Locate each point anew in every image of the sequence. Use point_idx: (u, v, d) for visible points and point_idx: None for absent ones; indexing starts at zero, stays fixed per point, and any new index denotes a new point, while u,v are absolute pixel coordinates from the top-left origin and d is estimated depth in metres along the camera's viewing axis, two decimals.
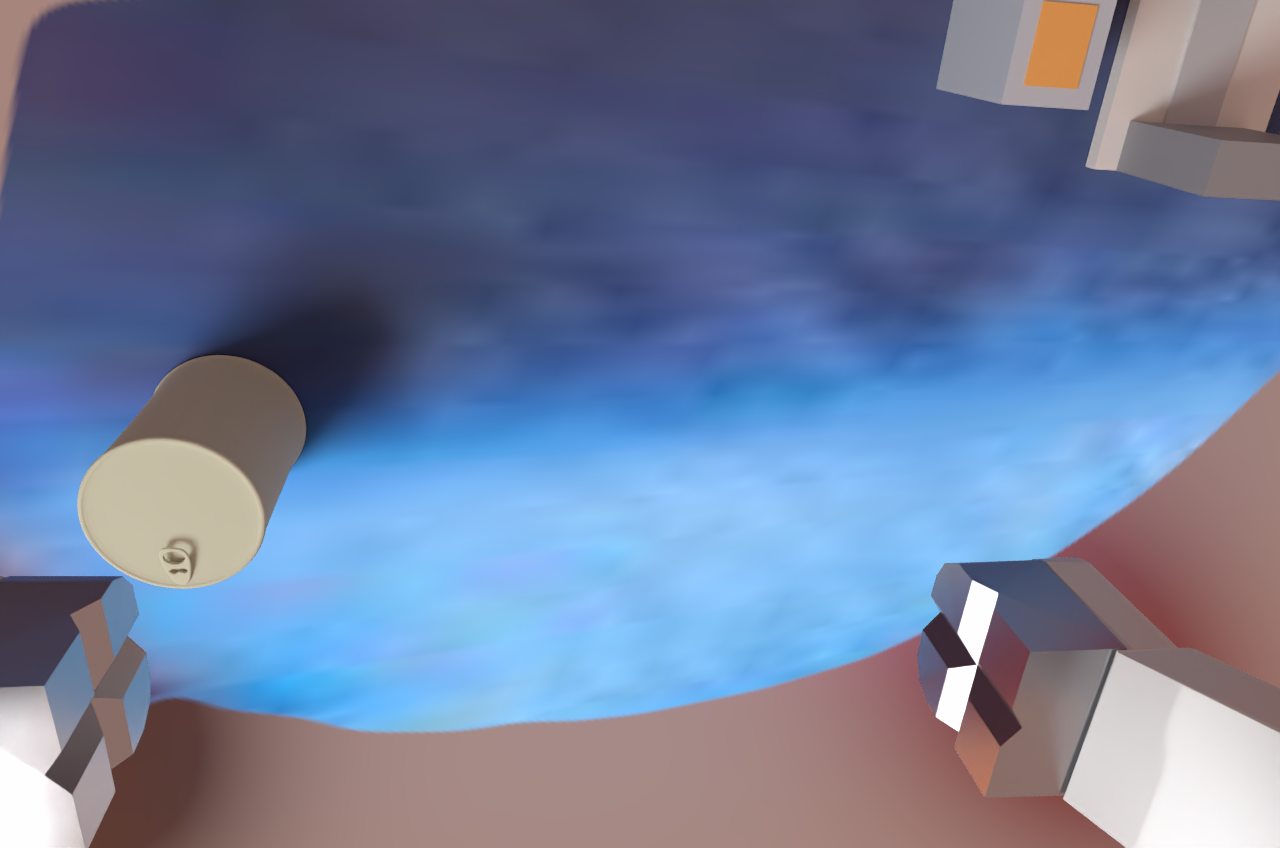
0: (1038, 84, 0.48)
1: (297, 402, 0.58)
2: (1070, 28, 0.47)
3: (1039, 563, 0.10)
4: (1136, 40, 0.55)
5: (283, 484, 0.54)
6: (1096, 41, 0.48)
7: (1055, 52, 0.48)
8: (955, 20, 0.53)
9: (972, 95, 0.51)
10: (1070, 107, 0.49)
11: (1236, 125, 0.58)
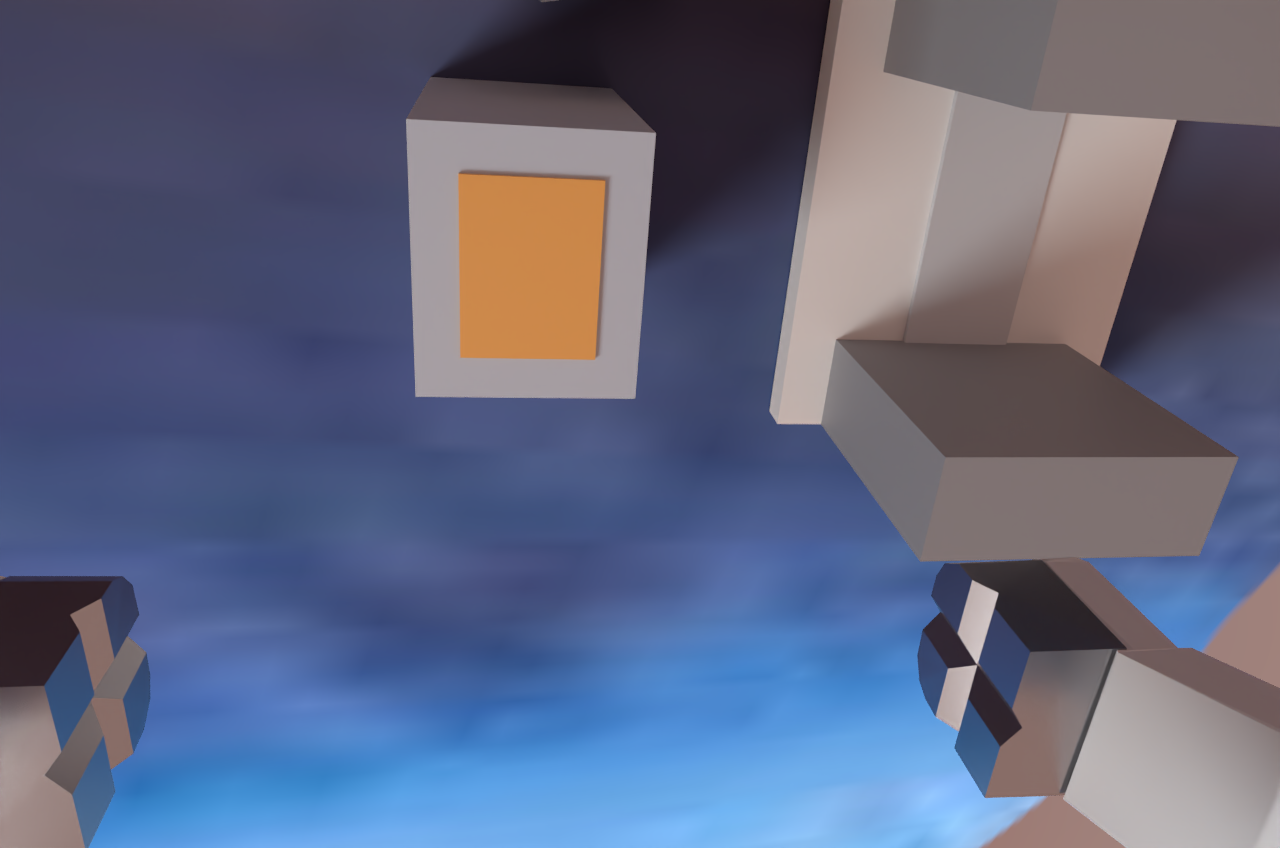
0: (497, 352, 0.21)
1: None
2: (547, 232, 0.20)
3: (1039, 563, 0.10)
4: (827, 196, 0.27)
5: None
6: (620, 257, 0.20)
7: (521, 286, 0.20)
8: None
9: None
10: (590, 395, 0.21)
11: (1048, 340, 0.30)
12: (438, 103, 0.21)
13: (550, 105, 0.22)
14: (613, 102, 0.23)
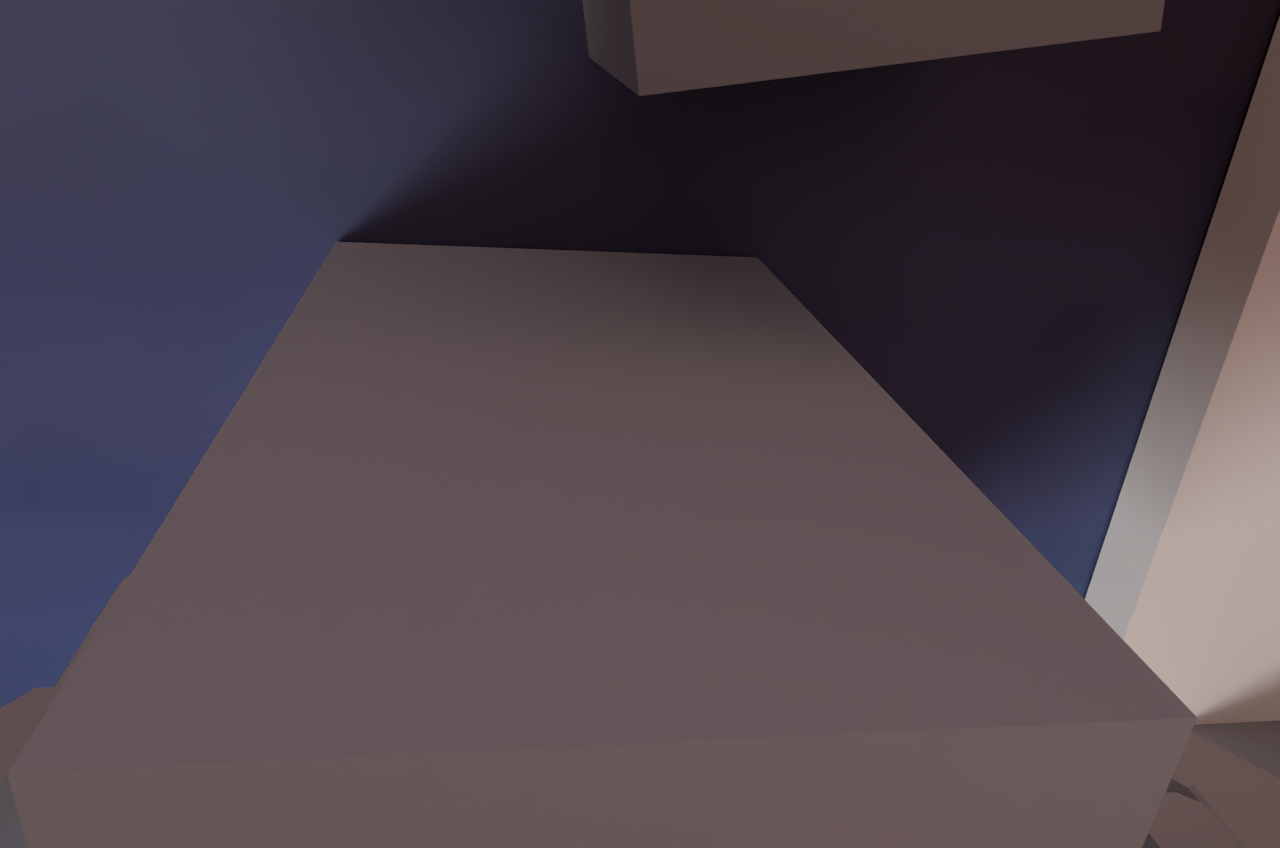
0: None
1: None
2: None
3: None
4: (1214, 476, 0.13)
5: None
6: None
7: None
8: None
9: None
10: None
11: None
12: (286, 455, 0.06)
13: (658, 408, 0.07)
14: (814, 352, 0.08)
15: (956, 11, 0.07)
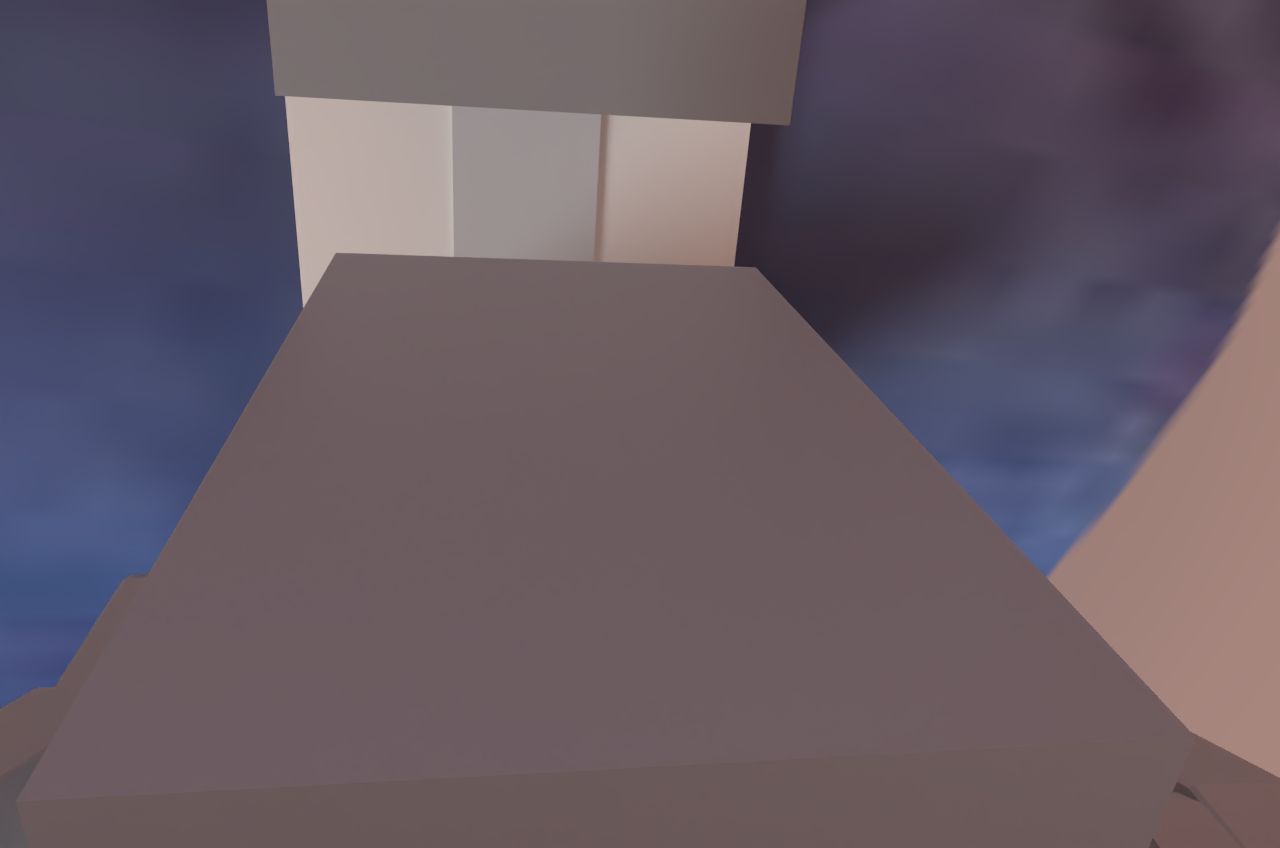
0: None
1: None
2: None
3: None
4: (314, 209, 0.22)
5: None
6: None
7: None
8: None
9: None
10: None
11: None
12: (288, 473, 0.06)
13: (658, 423, 0.07)
14: (813, 364, 0.08)
15: None
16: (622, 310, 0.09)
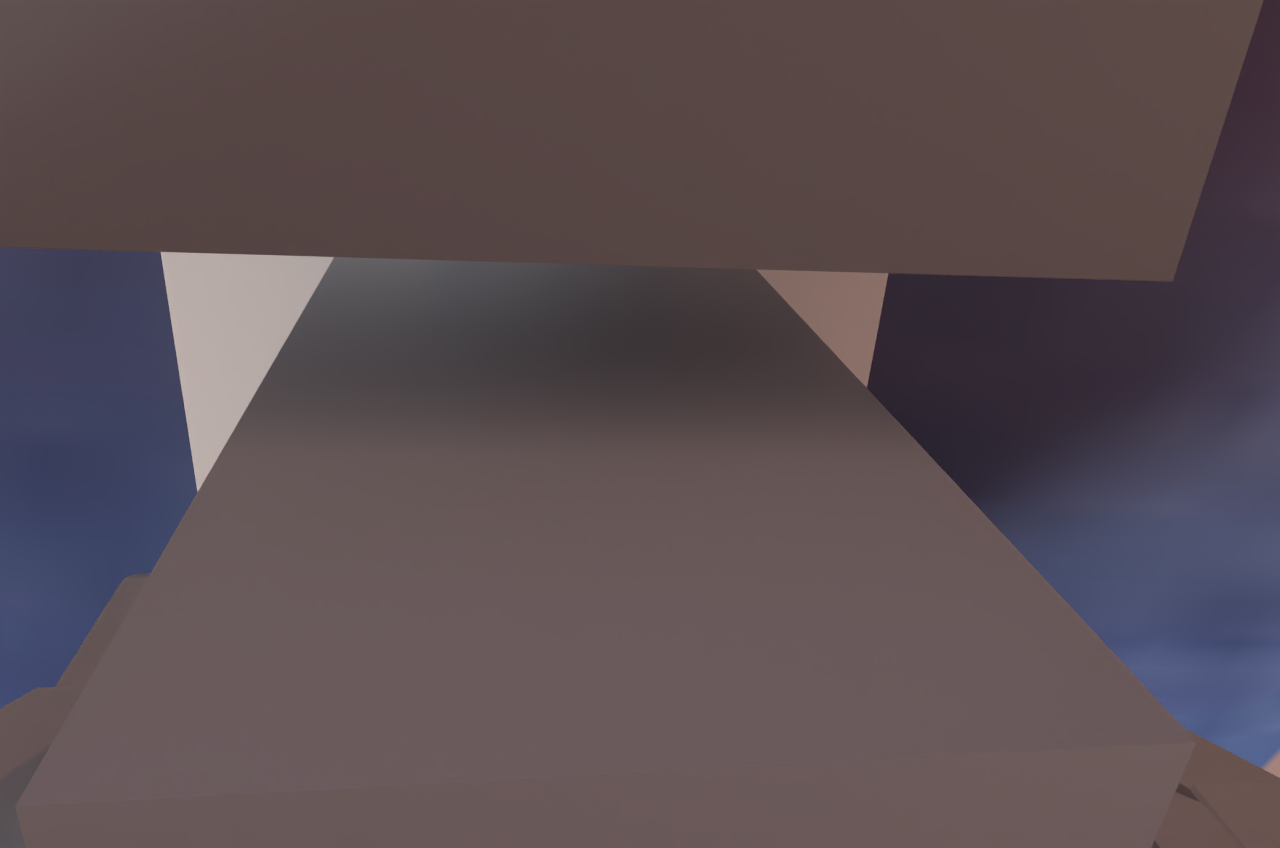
0: None
1: None
2: None
3: None
4: (206, 337, 0.14)
5: None
6: None
7: None
8: None
9: None
10: None
11: None
12: (288, 476, 0.06)
13: (658, 426, 0.07)
14: (813, 366, 0.08)
15: None
16: (622, 312, 0.09)
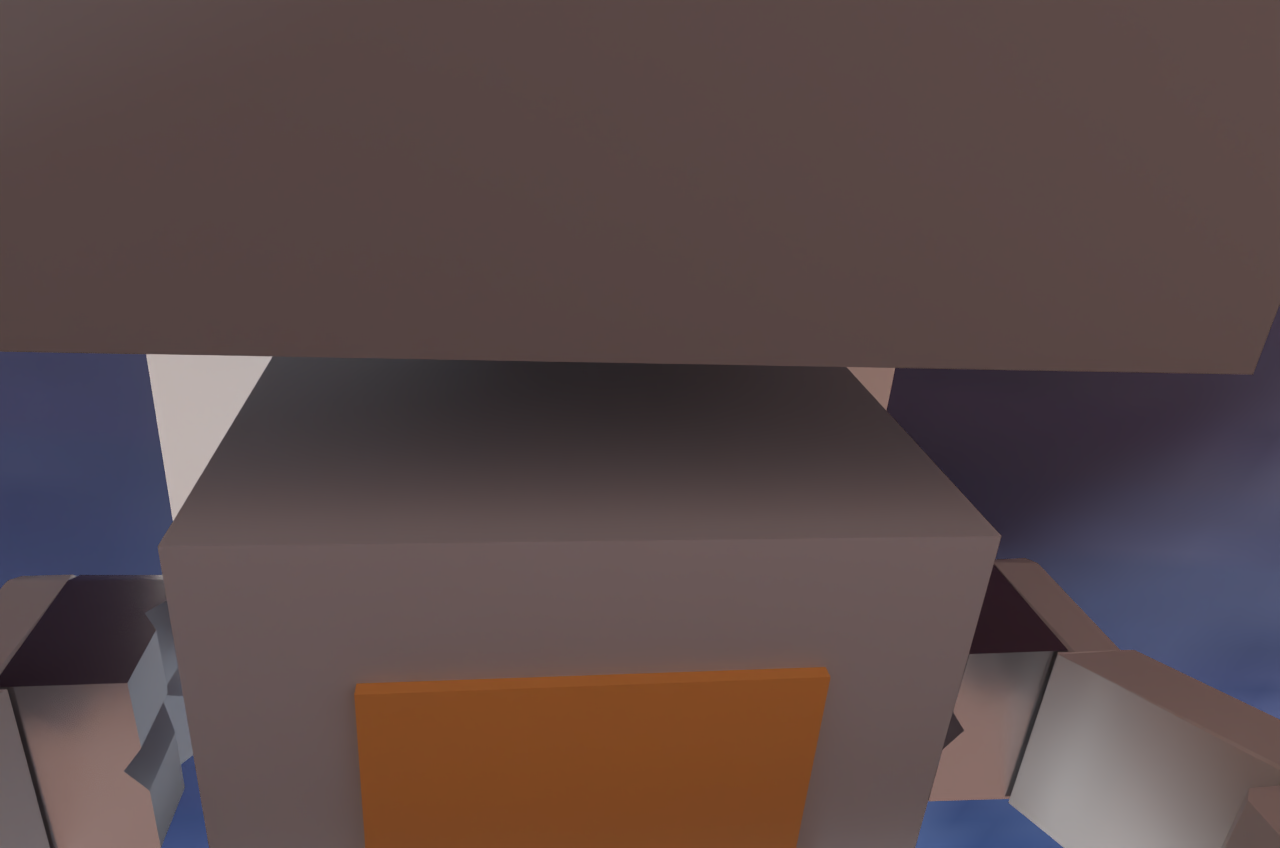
0: None
1: None
2: (641, 805, 0.06)
3: None
4: (185, 381, 0.13)
5: None
6: (846, 840, 0.07)
7: None
8: None
9: None
10: None
11: None
12: (328, 370, 0.07)
13: None
14: None
15: None
16: None
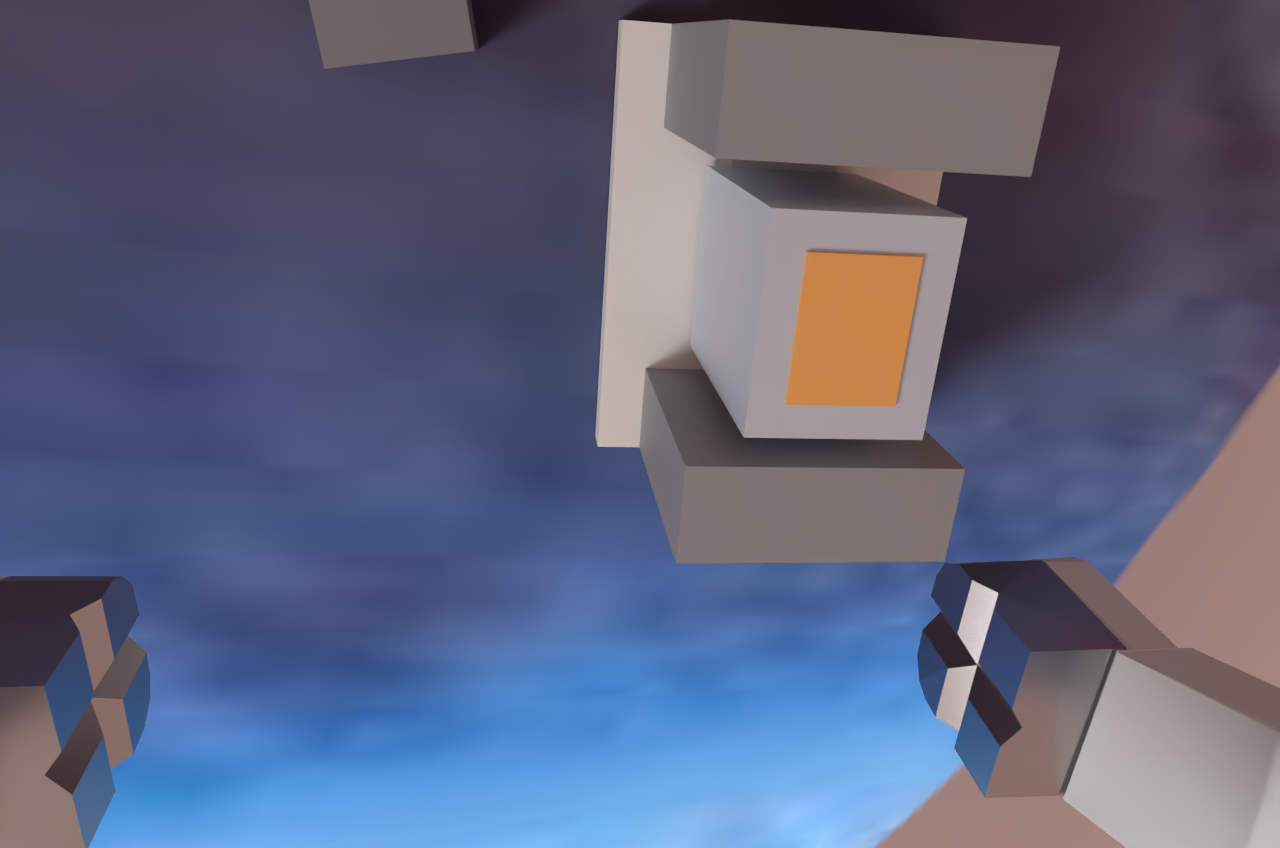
0: (816, 400, 0.24)
1: None
2: (870, 299, 0.23)
3: (1039, 563, 0.10)
4: (624, 237, 0.30)
5: None
6: (925, 320, 0.24)
7: (843, 343, 0.24)
8: (704, 239, 0.30)
9: (718, 390, 0.27)
10: (886, 437, 0.25)
11: None
12: (764, 192, 0.25)
13: (845, 192, 0.26)
14: (884, 188, 0.27)
15: (411, 45, 0.25)
16: (817, 178, 0.28)
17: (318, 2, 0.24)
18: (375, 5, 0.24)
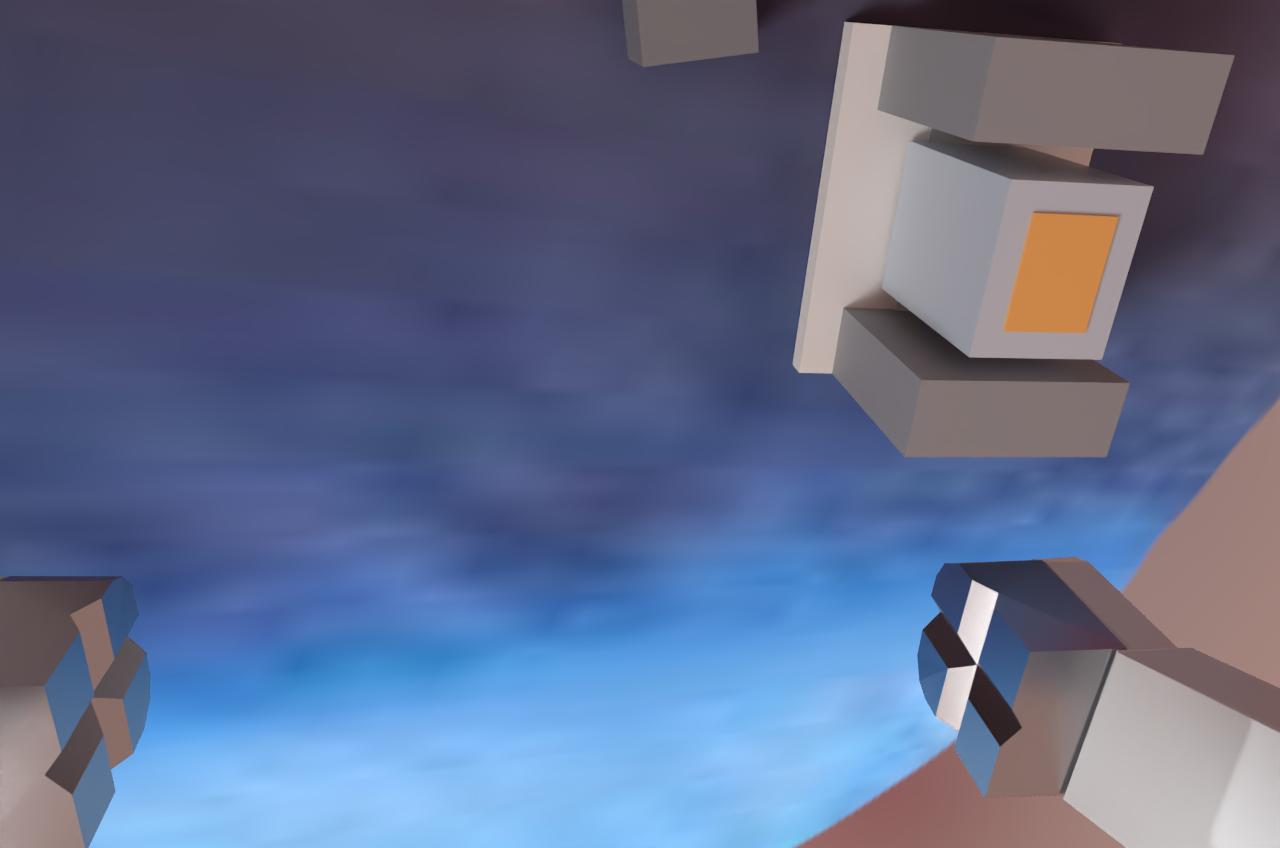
0: (1026, 328, 0.31)
1: None
2: (1075, 250, 0.30)
3: (1039, 563, 0.10)
4: (837, 200, 0.37)
5: None
6: (1114, 265, 0.31)
7: (1051, 284, 0.31)
8: (906, 201, 0.36)
9: (929, 323, 0.34)
10: (1075, 357, 0.32)
11: None
12: (986, 165, 0.32)
13: (1042, 165, 0.33)
14: (1064, 161, 0.34)
15: (711, 48, 0.31)
16: (1005, 152, 0.35)
17: (645, 15, 0.30)
18: (688, 17, 0.31)
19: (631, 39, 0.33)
